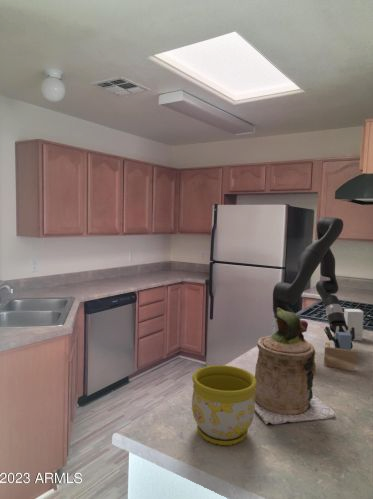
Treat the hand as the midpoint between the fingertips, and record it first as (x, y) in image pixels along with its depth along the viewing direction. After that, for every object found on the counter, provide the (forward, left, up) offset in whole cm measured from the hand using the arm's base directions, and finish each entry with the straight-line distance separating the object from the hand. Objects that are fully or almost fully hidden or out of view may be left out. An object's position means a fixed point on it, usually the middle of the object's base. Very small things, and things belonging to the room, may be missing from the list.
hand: (344, 348), depth 166 cm
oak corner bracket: (-6, -5, -5) cm, 9 cm away
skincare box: (+24, +24, -5) cm, 34 cm away
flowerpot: (-76, -42, -5) cm, 87 cm away
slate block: (0, +2, -5) cm, 5 cm away
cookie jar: (-49, -31, -5) cm, 58 cm away
